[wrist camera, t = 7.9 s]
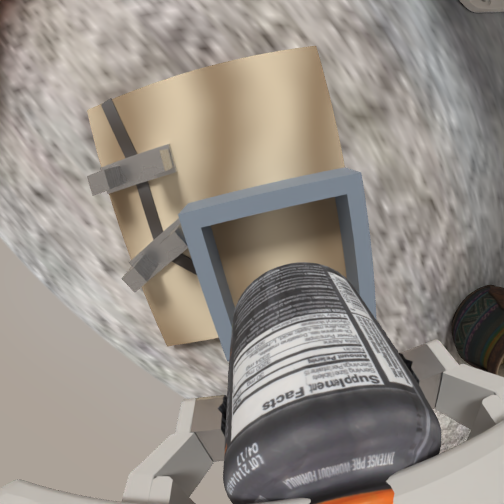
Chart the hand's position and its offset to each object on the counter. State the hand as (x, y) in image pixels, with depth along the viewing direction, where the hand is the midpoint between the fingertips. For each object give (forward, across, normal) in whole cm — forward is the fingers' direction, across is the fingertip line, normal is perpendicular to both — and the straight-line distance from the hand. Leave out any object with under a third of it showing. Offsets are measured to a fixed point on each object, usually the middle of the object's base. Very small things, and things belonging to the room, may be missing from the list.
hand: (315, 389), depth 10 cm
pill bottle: (+5, 0, 0) cm, 5 cm away
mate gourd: (+13, -17, +10) cm, 23 cm away
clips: (+12, +7, -5) cm, 15 cm away
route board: (+13, +2, -4) cm, 14 cm away
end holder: (+13, 0, 0) cm, 13 cm away
